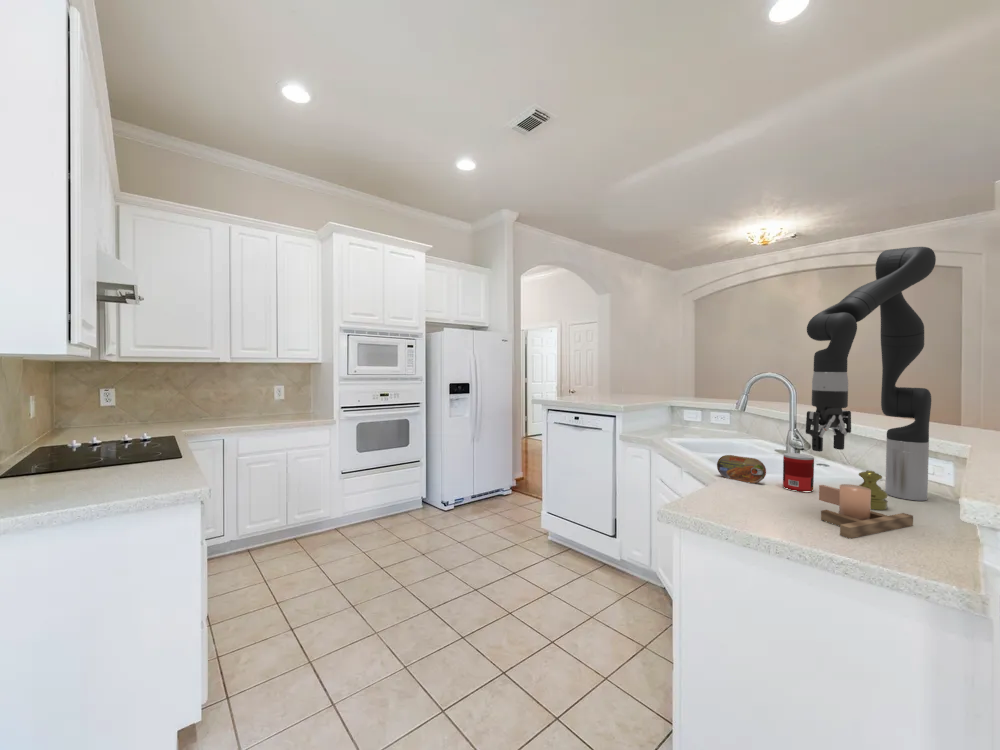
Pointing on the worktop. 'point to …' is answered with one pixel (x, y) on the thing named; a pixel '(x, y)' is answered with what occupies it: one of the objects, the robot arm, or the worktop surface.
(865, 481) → the brass doorknob
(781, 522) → the worktop surface
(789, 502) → the worktop surface
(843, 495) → the tan paddle shape
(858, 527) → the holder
